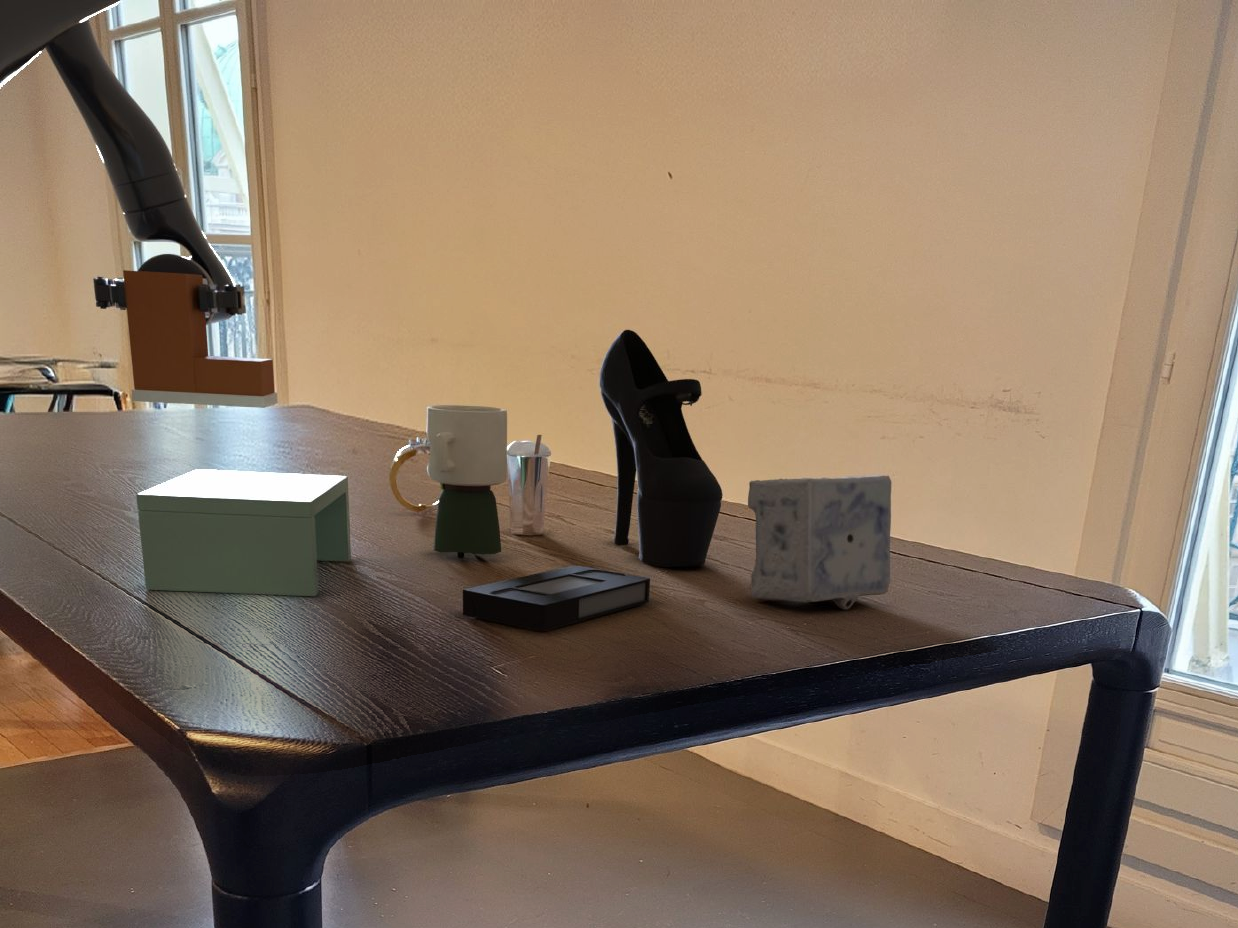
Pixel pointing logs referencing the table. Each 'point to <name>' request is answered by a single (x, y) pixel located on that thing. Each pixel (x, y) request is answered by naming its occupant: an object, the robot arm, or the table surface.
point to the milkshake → (528, 485)
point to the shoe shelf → (243, 531)
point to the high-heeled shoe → (657, 458)
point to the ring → (398, 460)
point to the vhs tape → (555, 597)
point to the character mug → (467, 475)
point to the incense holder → (821, 538)
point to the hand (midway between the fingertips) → (162, 296)
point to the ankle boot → (185, 348)
